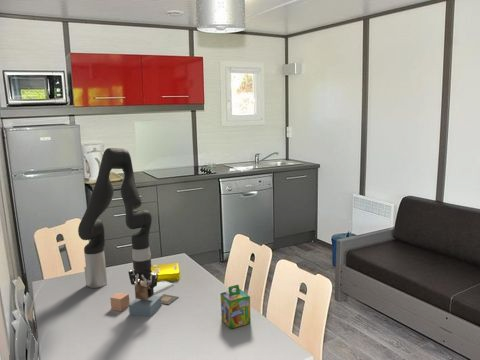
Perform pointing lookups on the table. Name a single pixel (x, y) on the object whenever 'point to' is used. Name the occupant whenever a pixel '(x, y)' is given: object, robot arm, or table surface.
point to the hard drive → (162, 286)
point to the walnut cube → (142, 291)
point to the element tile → (166, 271)
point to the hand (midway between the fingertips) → (144, 295)
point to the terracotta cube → (119, 301)
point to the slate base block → (145, 306)
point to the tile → (167, 299)
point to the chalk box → (235, 307)
